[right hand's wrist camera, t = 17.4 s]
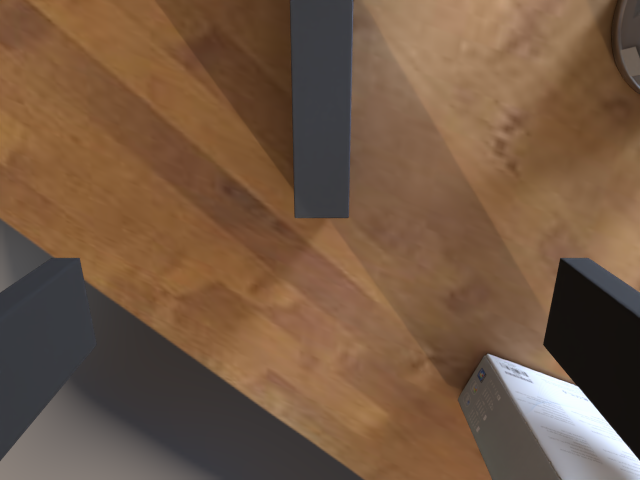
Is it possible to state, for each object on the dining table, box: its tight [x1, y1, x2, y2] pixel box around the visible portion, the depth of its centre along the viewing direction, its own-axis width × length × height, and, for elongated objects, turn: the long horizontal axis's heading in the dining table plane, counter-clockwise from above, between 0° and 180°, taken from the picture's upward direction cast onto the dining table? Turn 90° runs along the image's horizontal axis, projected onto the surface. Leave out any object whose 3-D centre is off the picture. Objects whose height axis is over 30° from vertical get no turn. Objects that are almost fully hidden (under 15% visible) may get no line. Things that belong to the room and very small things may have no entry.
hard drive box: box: [458, 354, 640, 480], centre depth 46 cm, size 16×8×20 cm, turn 68°
